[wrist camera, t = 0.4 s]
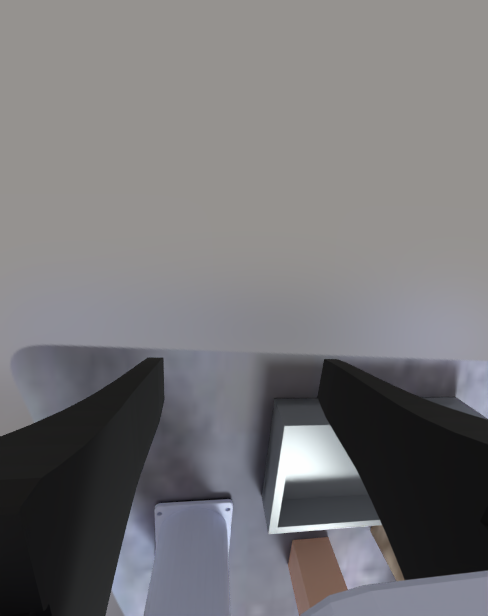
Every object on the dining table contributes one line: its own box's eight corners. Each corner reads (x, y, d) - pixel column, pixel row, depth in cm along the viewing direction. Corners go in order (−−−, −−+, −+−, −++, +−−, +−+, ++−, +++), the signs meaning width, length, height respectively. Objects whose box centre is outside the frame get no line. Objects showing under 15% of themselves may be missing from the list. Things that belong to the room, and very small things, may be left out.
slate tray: (422, 487, 29) (448, 519, 26) (261, 496, 27) (268, 534, 23) (455, 397, 26) (491, 421, 22) (274, 398, 23) (284, 426, 20)
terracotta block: (321, 561, 31) (345, 634, 26) (287, 564, 31) (304, 639, 25) (327, 536, 30) (354, 607, 24) (292, 539, 30) (311, 612, 24)
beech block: (402, 527, 31) (444, 593, 26) (370, 530, 31) (405, 598, 25) (412, 501, 30) (458, 564, 24) (378, 504, 29) (417, 569, 24)
